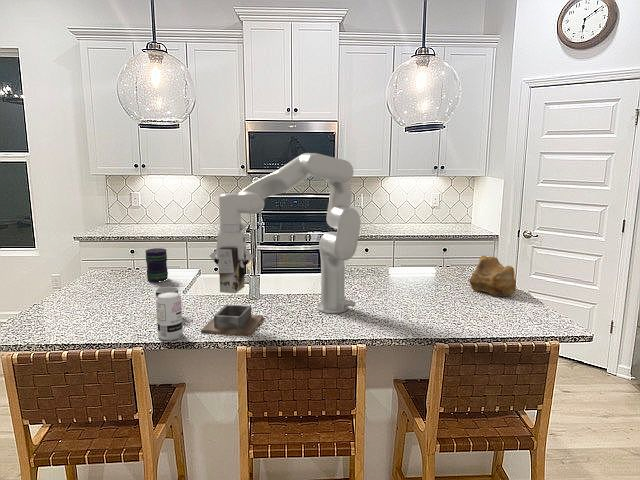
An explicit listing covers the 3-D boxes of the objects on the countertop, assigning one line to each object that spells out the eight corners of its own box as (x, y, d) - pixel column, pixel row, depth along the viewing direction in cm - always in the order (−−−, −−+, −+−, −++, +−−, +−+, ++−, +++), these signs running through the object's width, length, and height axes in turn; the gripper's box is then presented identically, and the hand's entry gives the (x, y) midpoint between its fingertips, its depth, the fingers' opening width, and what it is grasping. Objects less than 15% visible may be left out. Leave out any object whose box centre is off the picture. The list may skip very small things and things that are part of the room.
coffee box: (236, 293, 173) (235, 249, 170) (219, 292, 174) (217, 248, 171) (245, 286, 182) (244, 244, 179) (229, 285, 183) (227, 243, 180)
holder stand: (263, 318, 188) (263, 304, 187) (250, 335, 170) (250, 320, 169) (218, 315, 190) (217, 302, 189) (201, 332, 173) (200, 317, 172)
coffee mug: (155, 312, 194) (154, 288, 192) (178, 309, 197) (177, 285, 195) (158, 322, 183) (157, 296, 181) (182, 319, 186) (181, 293, 185)
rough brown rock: (458, 287, 234) (458, 257, 231) (490, 282, 237) (490, 252, 234) (485, 303, 212) (485, 270, 208) (519, 298, 215) (520, 265, 212)
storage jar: (153, 276, 246) (151, 247, 243) (171, 277, 245) (170, 248, 242) (143, 282, 236) (141, 252, 233) (162, 283, 235) (160, 252, 232)
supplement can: (161, 332, 173) (158, 291, 170) (185, 331, 173) (183, 291, 171) (155, 341, 165) (153, 298, 162) (180, 340, 166) (178, 298, 163)
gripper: (257, 227, 176) (258, 275, 179) (211, 226, 178) (212, 273, 182) (251, 230, 169) (252, 280, 172) (203, 229, 171) (205, 278, 174)
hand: (232, 276), depth 177 cm, fingers closed on coffee box, 6 cm apart
